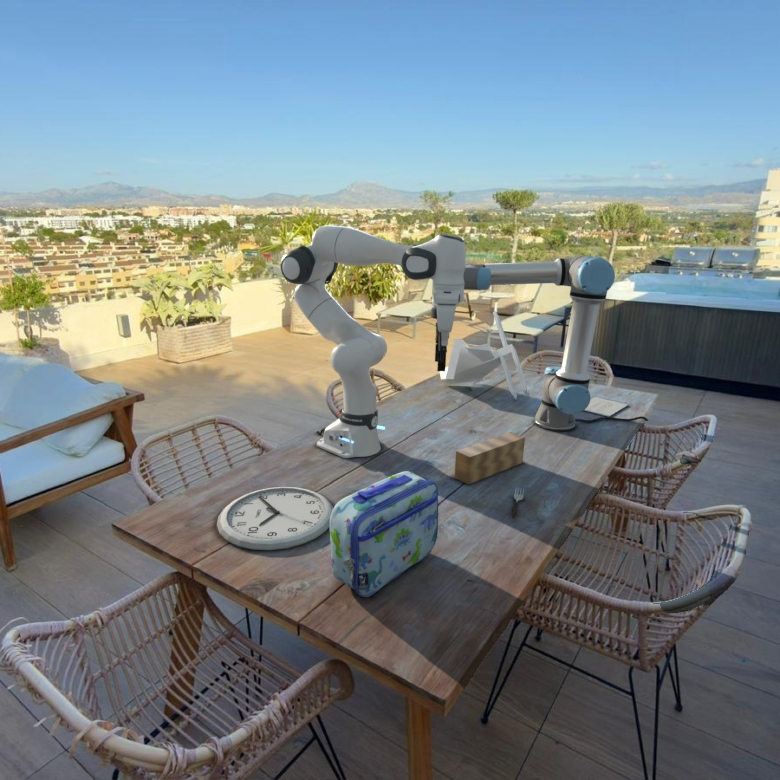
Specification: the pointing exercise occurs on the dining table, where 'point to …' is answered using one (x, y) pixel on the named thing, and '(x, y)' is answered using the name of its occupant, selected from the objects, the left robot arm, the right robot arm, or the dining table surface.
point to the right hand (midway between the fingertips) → (439, 366)
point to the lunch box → (383, 531)
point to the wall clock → (275, 518)
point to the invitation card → (604, 406)
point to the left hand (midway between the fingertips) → (445, 342)
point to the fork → (517, 498)
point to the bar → (489, 457)
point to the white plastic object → (482, 362)
